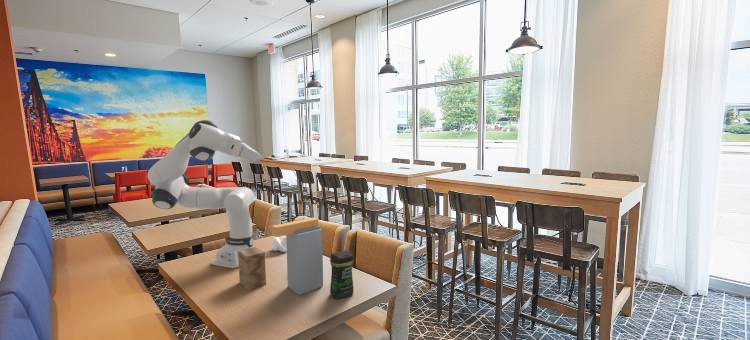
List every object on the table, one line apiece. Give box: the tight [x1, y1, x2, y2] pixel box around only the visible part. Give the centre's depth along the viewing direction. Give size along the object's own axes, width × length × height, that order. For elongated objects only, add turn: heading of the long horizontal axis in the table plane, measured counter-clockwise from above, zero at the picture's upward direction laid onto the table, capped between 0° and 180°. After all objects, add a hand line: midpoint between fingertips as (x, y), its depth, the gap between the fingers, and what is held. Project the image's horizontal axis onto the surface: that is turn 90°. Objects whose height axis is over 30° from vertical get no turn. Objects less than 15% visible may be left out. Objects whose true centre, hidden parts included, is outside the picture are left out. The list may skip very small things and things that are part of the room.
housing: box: [285, 225, 324, 295], centre depth 153 cm, size 12×10×27 cm
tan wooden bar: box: [271, 217, 319, 237], centre depth 148 cm, size 20×4×4 cm, turn 133°
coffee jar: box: [329, 249, 355, 299], centre depth 146 cm, size 10×8×19 cm
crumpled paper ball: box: [271, 235, 287, 253], centre depth 200 cm, size 11×12×9 cm
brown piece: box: [238, 246, 267, 291], centre depth 156 cm, size 8×10×15 cm
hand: (260, 155), depth 158 cm, fingers open, 8 cm apart
